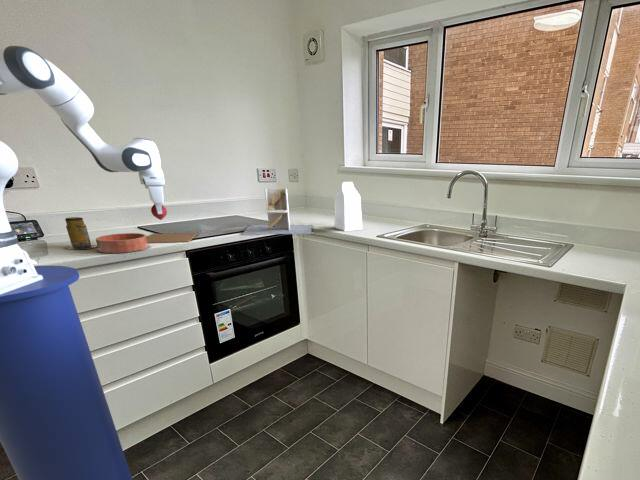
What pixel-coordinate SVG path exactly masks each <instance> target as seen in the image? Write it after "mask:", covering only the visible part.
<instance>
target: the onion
mask: <svg viewBox="0 0 640 480" xmlns="http://www.w3.org/2000/svg"><path fill="white" fill-rule="evenodd" d="M161 205H162V214H158V213H157V209H156V205H155V204H154V203H153V205H152V206H151V208H150V212H151V215H152V216H153V217H155V218H156V219H157V220H160V221H162V220H163V219H164V218H165V217H166V216H167V214H168V210H167V208H166V207H165V206H164V204H161Z"/></svg>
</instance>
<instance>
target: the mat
mask: <svg viewBox="0 0 640 480" xmlns="http://www.w3.org/2000/svg"><path fill="white" fill-rule="evenodd" d="M198 235H199V232H178V233H177V232H176V233H175V232H173V233H172V232H170V233H151V234H150V235H147V236H146V238H147V243H148V244H158V243H159V244H162V243H163V244H165V243H189V242H190V241H191V240H193V239H194V238H195V237H196V236H198Z"/></svg>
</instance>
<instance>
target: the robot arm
mask: <svg viewBox="0 0 640 480" xmlns="http://www.w3.org/2000/svg"><path fill="white" fill-rule="evenodd" d="M30 92H34V93H36V94H37V96H38V97H39V98H41V100H43V101H44V102H45V103H46V104H47V106H48V107H50V108H51V109H52V110H53V111H54V112H55V113H56V115H58V117H59V118H60V120H61V121H62V123H63V125H64V126H65V127H66V128H67V129H68V131H69V132H70V133H71V134H72V135H73V136H74V137H75V138H76V139H77V140H78V141H79V142H80V143H81V144H82V145H83V146H84V147H85V148H86V149H87V151H88V152H89V154H91V155H92V157H93V159H94V161H95V162H96V164H97V165H98V166H99V167H100V168H101V169H102V170H104V171H105V172H109V173H138V178H139V182H140V185H144V188H145V189H147V190H148V194H149V195H148V196H149V199H150V200H151V202H152V203H153V205H154V204H155V205H156V209H157V213H158V214H162V205H164V203H165V198H164V187H163V186H164V185H166V180H165V176H164V171H163V169H162V161H161V160H162V159H161V156H160V153H159V149H158V146H157V144H156V143H155V141H153V140H151V139H147V138H142V137H135V138H133V139H132V141H130V142H129V143H126V144H124V145H111V144H108V143H107V142H106V141H105V142H104V141H103V140H102V139H101V137H100V136H99V135H98V134H97V132H96V131H95V130H94V129H93V128H92V127H91V125H90V124H89V121H91V119H92V118H93V116H94V113H95V107H94V104H93V102H92V100H91V99H90V98H89V96H88V95H87V94H86V93H85V92H84V90H82V89H81V88H80V87H79V85H77V83H75V82H74V81H73V80H72V79H71V78H70V77H69V76H68V75H67V74H66V73H65V72H63V71H62V70H61V69H60V68H59V67H57V66H56V65H55V64H54V63H52V61H50V60H48V59H46V58H45V57H43V56H42V55H40V54H39V53H37V52H36V51H34V50H33V49H32V48H30V47H29V48H28V47H26V46H22V45H9V46H2V47H0V96H6V95H9V94H12V95H13V94H25V93H30ZM18 170H19V160H18V157H17V155H16V153H15V152H14V150H12V148H11V147H10V146H9V145H7V144H6V143H5V142H3V141H1V140H0V294H3V293H6V292H9V291H11V290H14V289H17V288H20V287H22V286H25V285H28V284H31V283H33V282H36V281H39V280H42V279H43V277H42V275H38V274H37V273H36V270H35V268H34V266H35V265H37V261H35V260H33V259H31V258H30V256H29V254H28V252H27V251H25V250H24V249H22V248H21V246H19V244H18V243H19V239H18V236H17V234H16V232H15V230H13V229H12V226H11V225H10V222H9V218H8V215H7V212H6V208H5V205H4V193H5V188H6V185H7V184H8V182H9V181H10V179H12V177H14V176H15V175H16V174H17V172H18ZM161 204H162V205H161ZM34 264H35V265H34Z"/></svg>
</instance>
